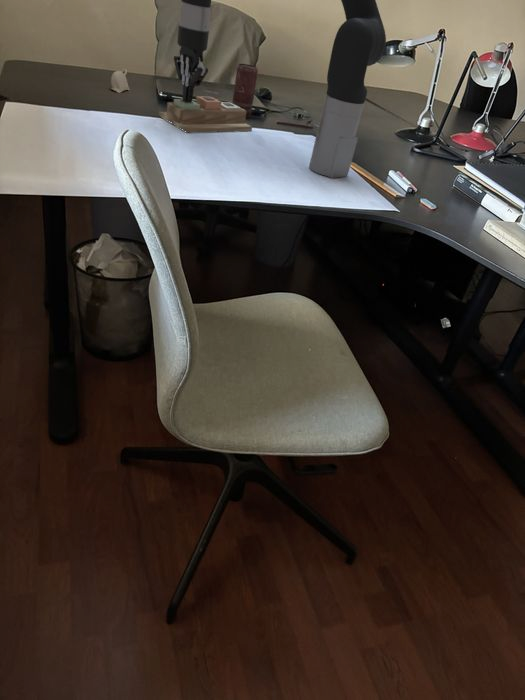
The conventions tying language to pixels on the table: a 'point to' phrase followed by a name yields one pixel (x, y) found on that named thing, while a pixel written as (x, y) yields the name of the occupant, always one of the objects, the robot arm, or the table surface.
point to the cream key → (229, 106)
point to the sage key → (186, 104)
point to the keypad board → (206, 119)
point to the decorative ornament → (119, 81)
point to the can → (245, 87)
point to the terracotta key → (208, 103)
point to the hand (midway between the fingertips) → (187, 100)
